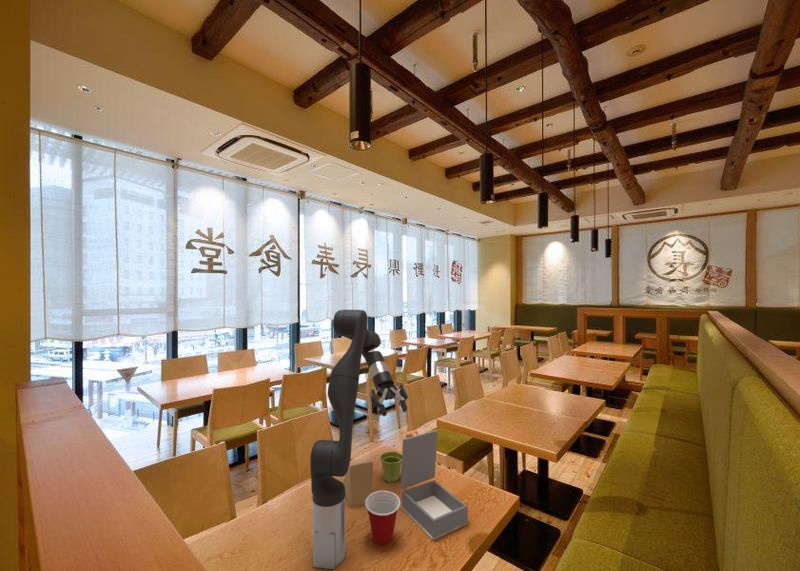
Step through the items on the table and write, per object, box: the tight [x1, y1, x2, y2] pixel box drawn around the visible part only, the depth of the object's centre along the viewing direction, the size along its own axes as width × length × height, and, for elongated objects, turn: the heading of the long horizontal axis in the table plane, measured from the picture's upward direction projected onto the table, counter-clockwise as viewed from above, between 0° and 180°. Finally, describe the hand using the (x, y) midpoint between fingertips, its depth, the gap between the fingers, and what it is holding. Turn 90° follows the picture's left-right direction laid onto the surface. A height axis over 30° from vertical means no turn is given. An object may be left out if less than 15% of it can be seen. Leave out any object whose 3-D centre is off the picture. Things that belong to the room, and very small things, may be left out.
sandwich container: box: [342, 460, 374, 508], centre depth 135 cm, size 9×15×15 cm, turn 21°
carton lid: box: [400, 429, 439, 490], centre depth 131 cm, size 18×14×7 cm
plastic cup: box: [364, 490, 401, 546], centre depth 111 cm, size 11×11×12 cm
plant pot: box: [379, 451, 402, 483], centre depth 145 cm, size 9×9×9 cm
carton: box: [401, 479, 469, 542], centre depth 122 cm, size 18×14×6 cm
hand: (395, 413), depth 133 cm, fingers open, 8 cm apart
